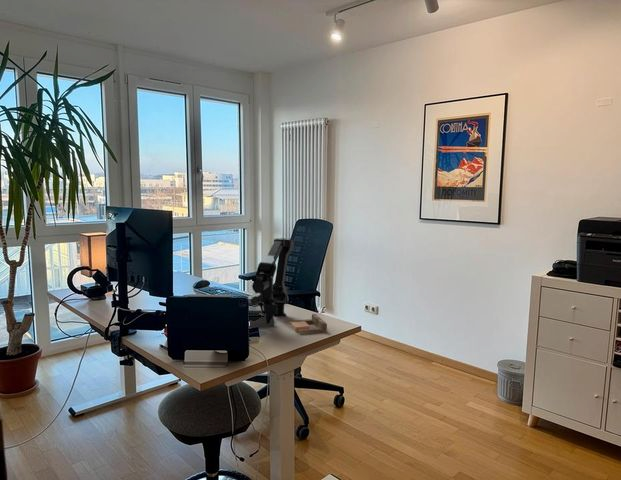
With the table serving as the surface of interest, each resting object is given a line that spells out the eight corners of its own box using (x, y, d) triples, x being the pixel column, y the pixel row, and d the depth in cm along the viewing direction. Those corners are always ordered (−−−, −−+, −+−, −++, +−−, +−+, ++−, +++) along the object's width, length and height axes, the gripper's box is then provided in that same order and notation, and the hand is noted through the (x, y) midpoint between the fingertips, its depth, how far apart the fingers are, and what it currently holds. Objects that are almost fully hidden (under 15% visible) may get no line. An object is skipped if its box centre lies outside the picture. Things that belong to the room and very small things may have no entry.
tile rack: (289, 323, 206) (290, 315, 205) (315, 321, 210) (315, 313, 209) (299, 334, 192) (299, 325, 191) (326, 332, 196) (327, 323, 195)
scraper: (248, 328, 197) (249, 317, 197) (246, 323, 204) (246, 313, 203) (276, 326, 201) (276, 316, 201) (272, 321, 208) (272, 311, 207)
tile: (290, 327, 202) (290, 322, 201) (304, 326, 204) (304, 321, 204) (295, 332, 195) (295, 327, 195) (309, 331, 197) (310, 326, 197)
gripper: (245, 284, 207) (245, 315, 209) (253, 293, 190) (252, 328, 192) (268, 283, 211) (267, 314, 213) (278, 292, 193) (277, 326, 195)
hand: (265, 320), depth 203 cm, fingers open, 9 cm apart
